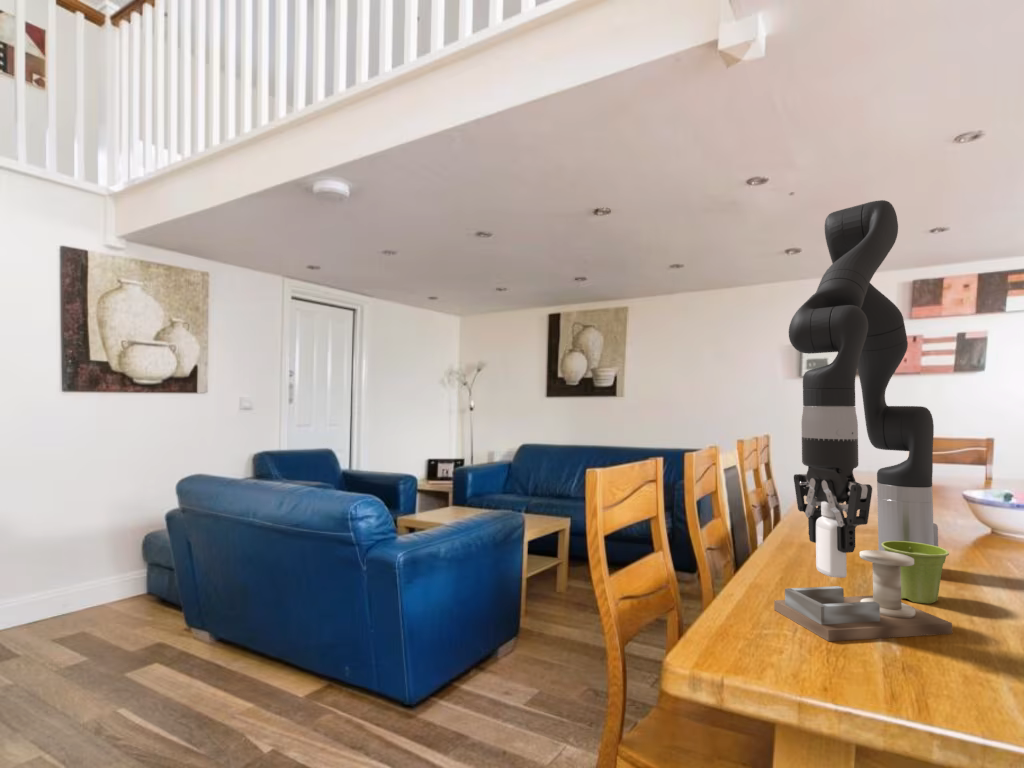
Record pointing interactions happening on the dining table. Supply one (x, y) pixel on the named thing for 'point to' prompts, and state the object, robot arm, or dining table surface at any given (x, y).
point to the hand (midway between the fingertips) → (830, 546)
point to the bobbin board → (862, 606)
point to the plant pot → (919, 570)
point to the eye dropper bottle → (829, 545)
